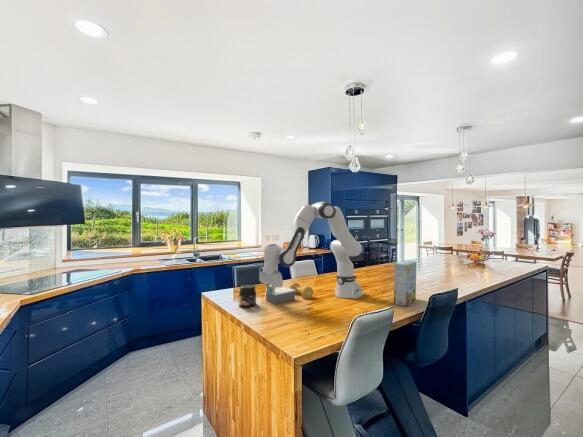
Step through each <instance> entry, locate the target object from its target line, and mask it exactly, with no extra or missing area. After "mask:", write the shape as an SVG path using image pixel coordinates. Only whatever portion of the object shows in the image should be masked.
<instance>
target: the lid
mask: <svg viewBox="0 0 583 437" xmlns="http://www.w3.org/2000/svg"><path fill="white" fill-rule="evenodd" d="M272 288H273V287H272V286H269V287H266V290H265V294H266V293H267V294H269V295H271V294H273V295H280V294H285V293H289V292H294V291H295V290H294V289H290V288H289V287H286V286H284V287H283V286H282V287H277V288H275V292H271V289H272Z"/></svg>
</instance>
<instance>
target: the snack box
mask: <svg viewBox="0 0 583 437" xmlns="http://www.w3.org/2000/svg"><path fill="white" fill-rule="evenodd" d="M393 280H394V282H393V283H394V284H393V286H394V287H393V305H397V306H401V307H408V306H409V305H410V304H411V303H412V302H414V301H416V299H417V297H416V296H417V261H415V260H407V259H406V260H401V261H399V262H397V263H394V278H393Z"/></svg>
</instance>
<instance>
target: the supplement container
mask: <svg viewBox="0 0 583 437" xmlns="http://www.w3.org/2000/svg"><path fill="white" fill-rule="evenodd" d="M238 295H239V296H238V299H239V300H238V306H239V307H240V308H242V307H243V308H242V309H251V308H252V307H255V306H257V291H256V285H254V284H243V285H240V286H239V292H238Z"/></svg>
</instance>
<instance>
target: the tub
mask: <svg viewBox="0 0 583 437" xmlns="http://www.w3.org/2000/svg"><path fill="white" fill-rule="evenodd" d="M295 299H296V294H295V291H294V292H289V293H285V294H280V295H273V294H271V295H269V294H267V293H266V292H265V301H266V302H268V303H272V304H275V305H277V304H282V303H286V302H290V301H294V300H295Z"/></svg>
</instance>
